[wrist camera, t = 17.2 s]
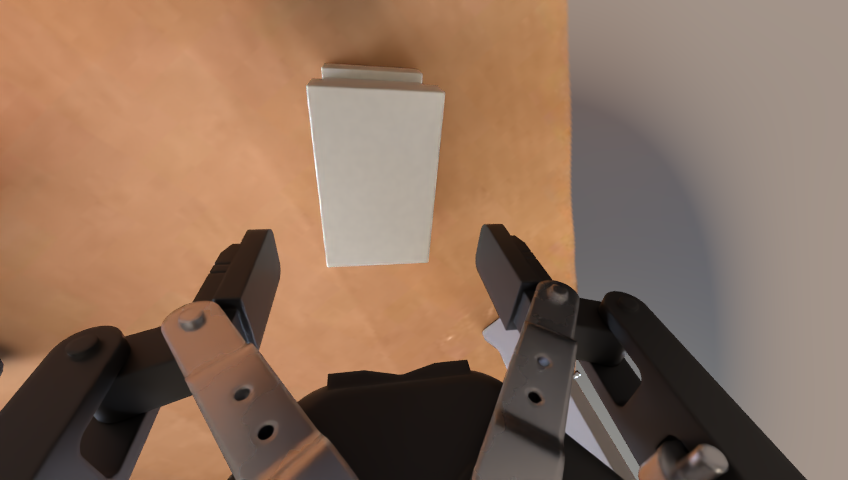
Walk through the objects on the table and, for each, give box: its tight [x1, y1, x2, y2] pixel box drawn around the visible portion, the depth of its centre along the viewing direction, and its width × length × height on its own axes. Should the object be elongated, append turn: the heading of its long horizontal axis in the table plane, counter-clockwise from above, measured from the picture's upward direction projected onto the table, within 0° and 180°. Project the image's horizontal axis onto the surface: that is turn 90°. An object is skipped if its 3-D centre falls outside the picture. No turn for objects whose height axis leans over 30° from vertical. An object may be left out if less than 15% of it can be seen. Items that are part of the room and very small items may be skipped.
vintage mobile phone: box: [483, 318, 636, 480], centre depth 24 cm, size 4×5×25 cm
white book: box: [306, 78, 445, 267], centre depth 18 cm, size 10×6×2 cm, turn 176°
